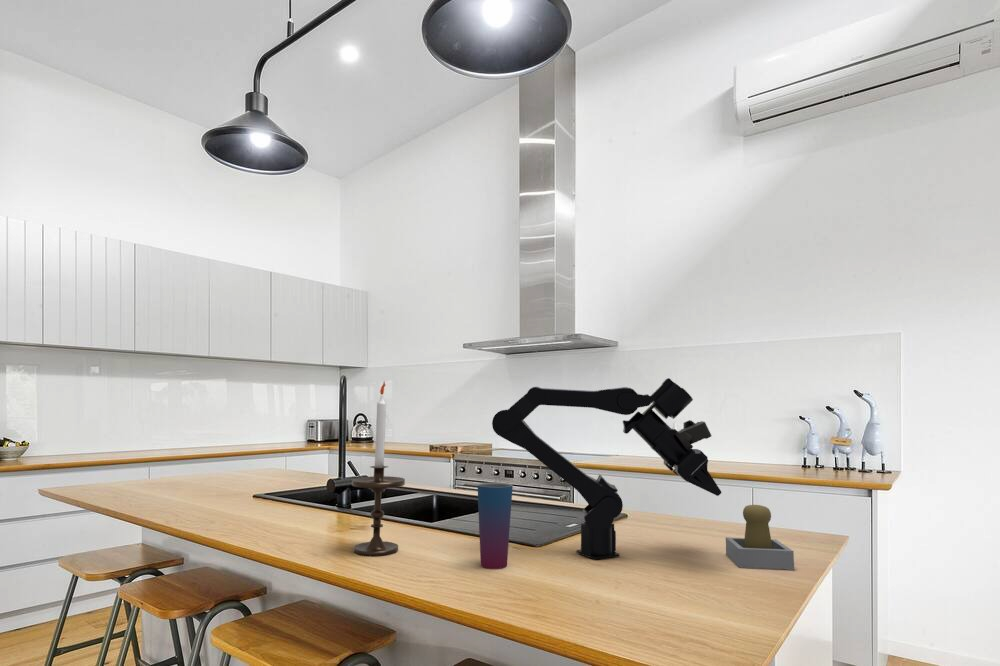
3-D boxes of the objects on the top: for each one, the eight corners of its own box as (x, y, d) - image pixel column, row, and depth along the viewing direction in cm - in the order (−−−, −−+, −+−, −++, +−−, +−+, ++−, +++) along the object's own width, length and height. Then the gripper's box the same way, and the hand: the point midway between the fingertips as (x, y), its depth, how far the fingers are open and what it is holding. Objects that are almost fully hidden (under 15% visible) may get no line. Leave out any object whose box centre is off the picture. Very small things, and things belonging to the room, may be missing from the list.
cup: (477, 560, 117) (478, 482, 118) (511, 561, 116) (512, 482, 118) (474, 569, 110) (476, 486, 112) (511, 570, 110) (512, 487, 111)
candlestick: (412, 552, 122) (417, 381, 126) (362, 560, 115) (369, 379, 119) (387, 542, 130) (393, 382, 134) (340, 549, 124) (348, 380, 128)
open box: (739, 567, 114) (738, 548, 115) (726, 554, 124) (725, 537, 124) (794, 570, 113) (793, 551, 113) (776, 556, 123) (775, 539, 123)
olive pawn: (780, 566, 115) (778, 508, 117) (749, 566, 116) (747, 507, 117) (767, 558, 121) (765, 503, 123) (737, 558, 122) (735, 502, 123)
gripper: (694, 407, 114) (756, 468, 112) (677, 407, 133) (730, 459, 130) (653, 448, 115) (714, 509, 112) (642, 442, 133) (694, 494, 130)
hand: (714, 490), depth 121 cm, fingers open, 9 cm apart
